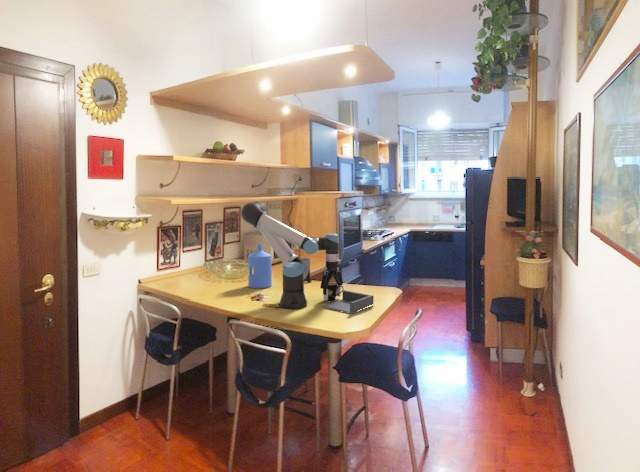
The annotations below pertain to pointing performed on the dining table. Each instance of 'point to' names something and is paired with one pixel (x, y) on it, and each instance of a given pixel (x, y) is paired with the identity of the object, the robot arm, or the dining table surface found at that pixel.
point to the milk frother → (307, 261)
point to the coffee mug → (332, 291)
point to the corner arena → (351, 302)
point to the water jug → (260, 269)
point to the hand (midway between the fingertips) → (332, 298)
